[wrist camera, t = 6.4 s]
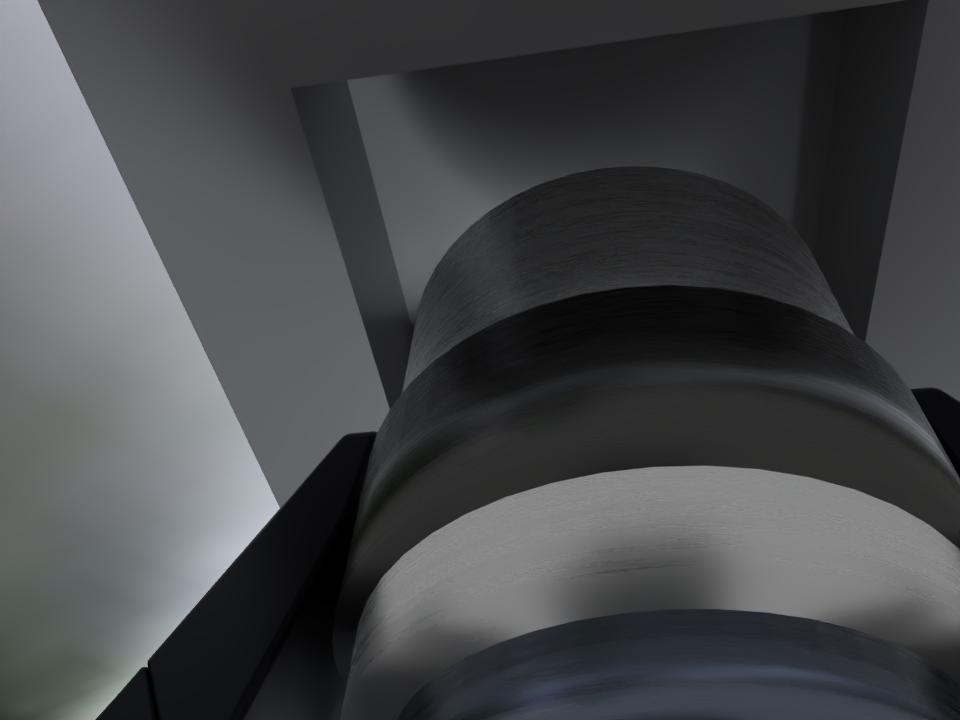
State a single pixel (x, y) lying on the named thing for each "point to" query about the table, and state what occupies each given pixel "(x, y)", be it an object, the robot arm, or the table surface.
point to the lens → (648, 481)
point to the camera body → (503, 162)
